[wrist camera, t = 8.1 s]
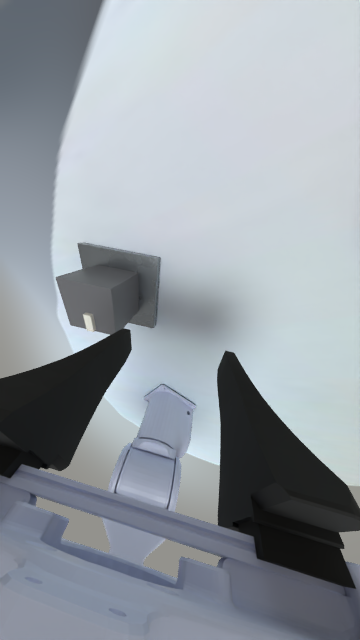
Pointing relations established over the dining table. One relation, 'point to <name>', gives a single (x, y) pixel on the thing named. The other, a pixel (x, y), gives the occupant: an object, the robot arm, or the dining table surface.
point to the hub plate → (135, 263)
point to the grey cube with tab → (100, 297)
